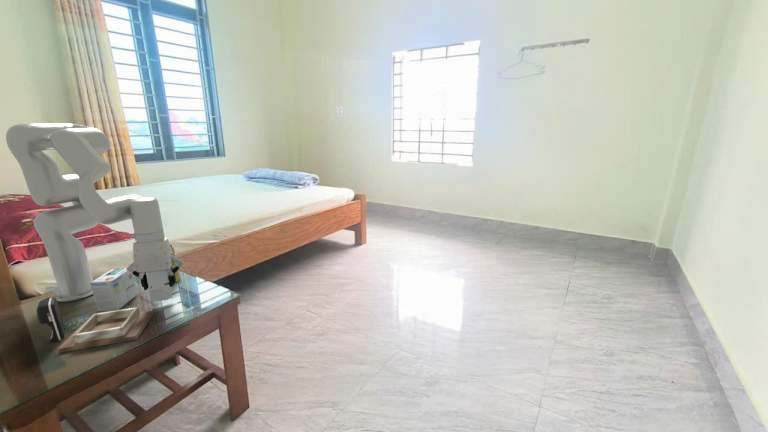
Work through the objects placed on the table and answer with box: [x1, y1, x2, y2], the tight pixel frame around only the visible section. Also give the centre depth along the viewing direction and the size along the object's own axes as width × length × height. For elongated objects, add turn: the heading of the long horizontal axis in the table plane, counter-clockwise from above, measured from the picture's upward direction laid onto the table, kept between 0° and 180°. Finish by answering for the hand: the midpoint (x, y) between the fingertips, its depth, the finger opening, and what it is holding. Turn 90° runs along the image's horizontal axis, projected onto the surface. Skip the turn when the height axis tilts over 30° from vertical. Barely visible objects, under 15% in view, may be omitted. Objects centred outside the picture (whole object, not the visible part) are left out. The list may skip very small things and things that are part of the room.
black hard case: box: [36, 297, 66, 343], centre depth 95 cm, size 7×4×11 cm, turn 40°
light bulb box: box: [90, 267, 138, 312], centre depth 113 cm, size 11×7×11 cm, turn 6°
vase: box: [170, 244, 182, 283], centre depth 128 cm, size 6×6×14 cm
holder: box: [57, 306, 154, 353], centre depth 98 cm, size 18×14×4 cm
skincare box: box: [146, 270, 173, 303], centre depth 111 cm, size 6×4×12 cm
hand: (159, 286), depth 111 cm, fingers closed on skincare box, 6 cm apart
